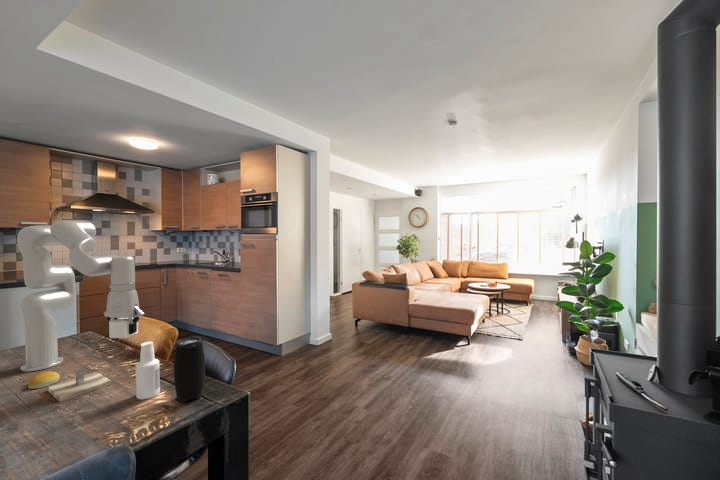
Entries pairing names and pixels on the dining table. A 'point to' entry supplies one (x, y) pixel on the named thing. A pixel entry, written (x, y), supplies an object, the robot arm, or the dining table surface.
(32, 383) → the bread roll
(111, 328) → the white slotted cube
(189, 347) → the portable speaker
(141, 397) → the white plastic bottle
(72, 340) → the dining table surface
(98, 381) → the beige square plate
